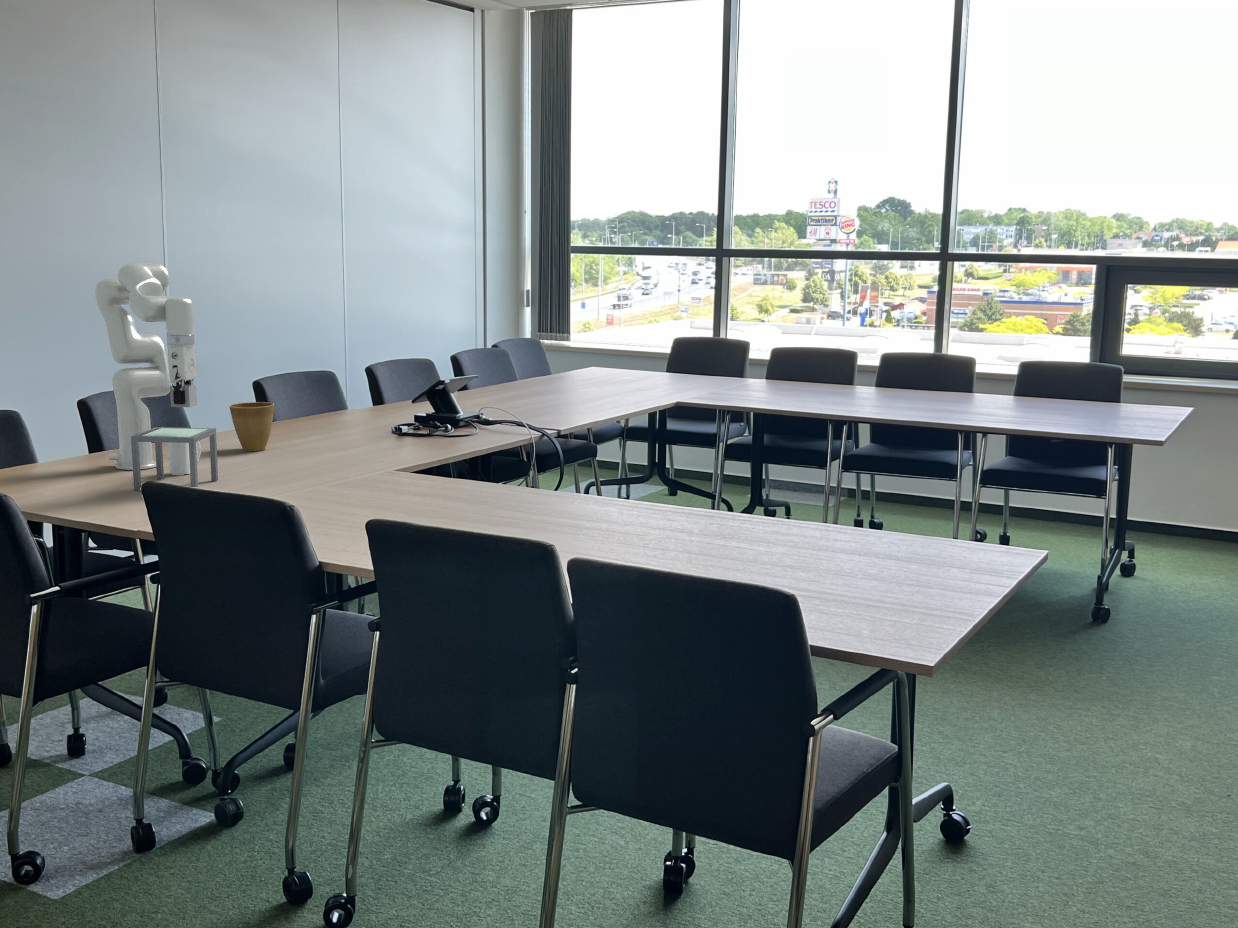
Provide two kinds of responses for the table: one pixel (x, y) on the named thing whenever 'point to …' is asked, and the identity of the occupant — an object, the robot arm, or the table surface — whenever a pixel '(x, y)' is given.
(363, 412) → the table surface
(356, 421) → the table surface
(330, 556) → the table surface
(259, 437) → the plant pot
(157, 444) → the stand
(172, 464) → the mug
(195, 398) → the grey cube
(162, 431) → the trapdoor
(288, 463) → the table surface
